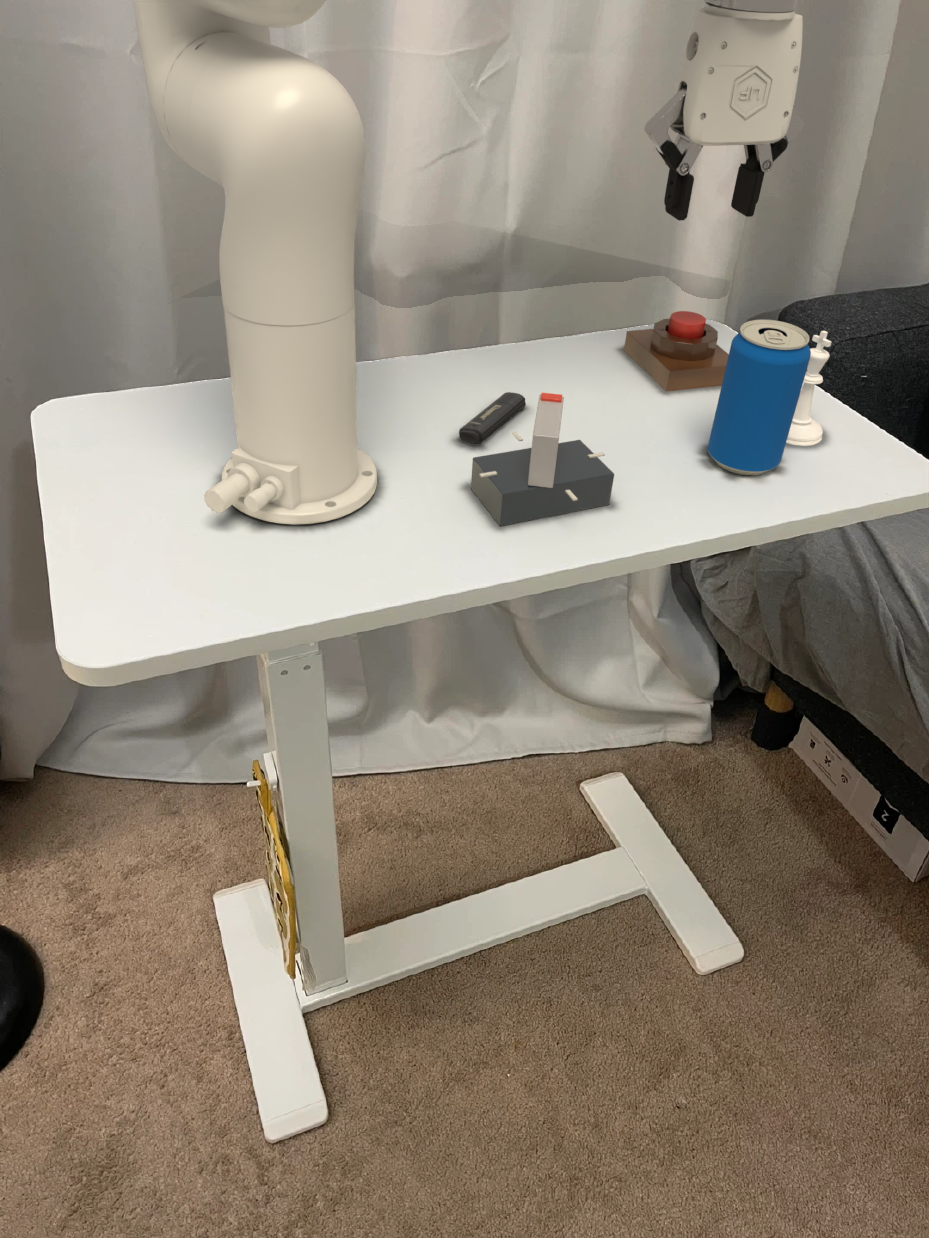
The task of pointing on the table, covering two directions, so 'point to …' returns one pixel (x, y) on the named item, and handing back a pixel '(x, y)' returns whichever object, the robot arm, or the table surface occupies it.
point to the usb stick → (492, 418)
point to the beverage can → (759, 396)
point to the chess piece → (809, 397)
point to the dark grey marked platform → (515, 501)
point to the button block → (678, 357)
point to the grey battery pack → (545, 440)
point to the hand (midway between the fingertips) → (709, 212)
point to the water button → (686, 325)
